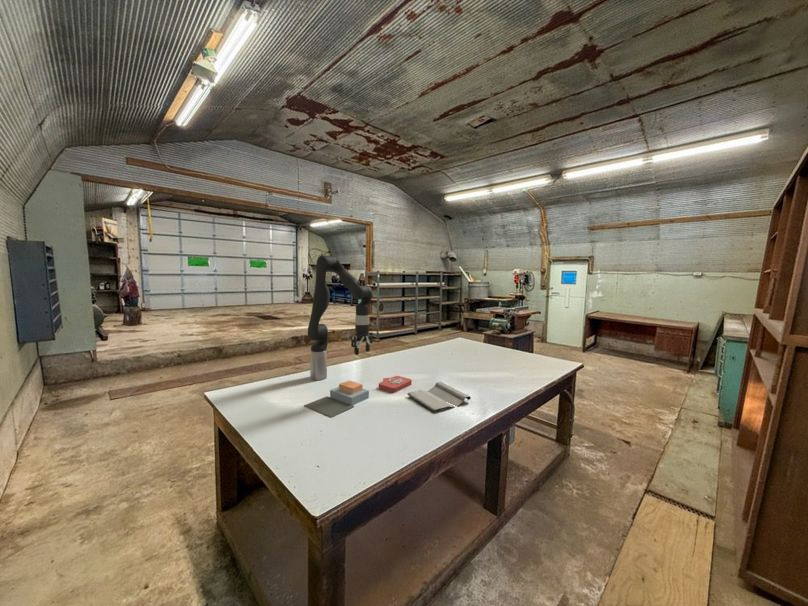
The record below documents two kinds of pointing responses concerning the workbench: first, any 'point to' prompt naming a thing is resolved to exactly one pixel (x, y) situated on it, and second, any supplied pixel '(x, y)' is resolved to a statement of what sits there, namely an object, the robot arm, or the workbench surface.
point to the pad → (329, 406)
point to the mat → (439, 397)
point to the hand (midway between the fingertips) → (362, 353)
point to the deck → (349, 396)
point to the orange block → (350, 387)
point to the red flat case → (394, 384)
